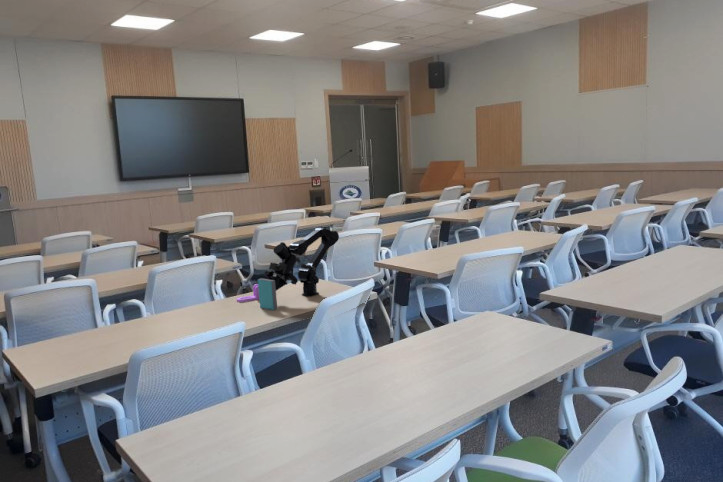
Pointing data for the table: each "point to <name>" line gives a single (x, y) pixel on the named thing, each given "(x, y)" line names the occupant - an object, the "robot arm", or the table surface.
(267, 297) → the tile
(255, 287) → the bracket
